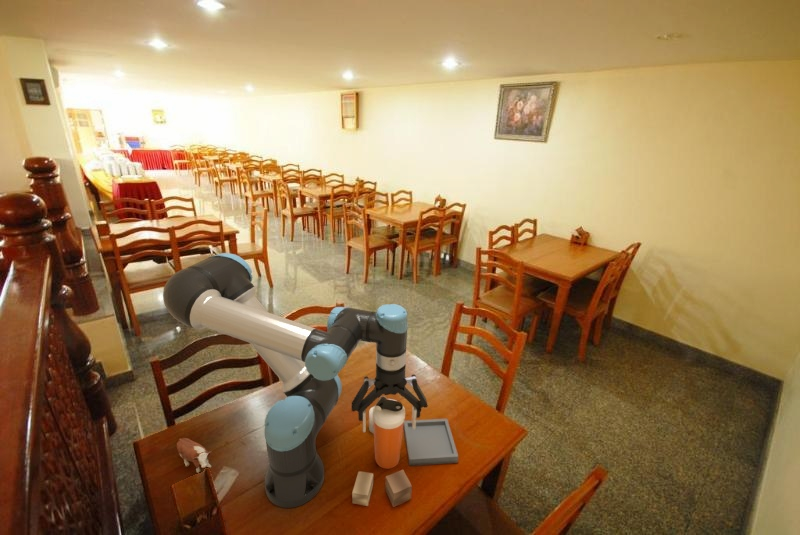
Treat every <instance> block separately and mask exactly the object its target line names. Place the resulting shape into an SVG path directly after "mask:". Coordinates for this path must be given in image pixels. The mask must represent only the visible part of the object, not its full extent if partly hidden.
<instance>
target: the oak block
mask: <svg viewBox="0 0 800 535" xmlns="http://www.w3.org/2000/svg"><path fill="white" fill-rule="evenodd" d="M373 485H374V473H372V472H366V471H359V470H358V472H357V476H356V478H355V482H354V486H353V488H352V493H351V496H352V498H351V499H352V500H351V501H352V504H356V505H360V506H366V507H368V506H369V504H370V503H369V502H370V499H371V494H372V490H373V488H374V486H373Z"/></svg>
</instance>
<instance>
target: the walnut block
mask: <svg viewBox="0 0 800 535" xmlns="http://www.w3.org/2000/svg"><path fill="white" fill-rule="evenodd" d="M384 486H385V488H384V490H385V494H387V497H388V499H389V501H390V504H391V506H392V507H393V508H394V507H396V506H399V505H401V504H404V503H406V502H408V501H410V500H411V499H412V490H413V489H412V488H413V486H412V484H411V482H410V479H409V477H408V476H407V475H406V472H405V471H404V469H401V470H398V471H396V472H394V473H391V474H389V475H386V476H385V485H384Z"/></svg>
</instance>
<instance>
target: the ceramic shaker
mask: <svg viewBox="0 0 800 535" xmlns="http://www.w3.org/2000/svg"><path fill="white" fill-rule="evenodd" d="M373 408H374V406H372V407H370V409H369V410H368V411H369V412H368V430H369V432H370V433H371V434H374V421H373V417H372V416H373Z"/></svg>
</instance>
